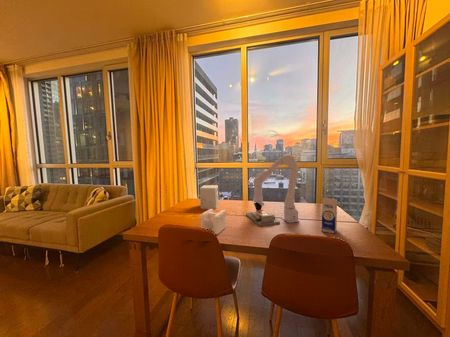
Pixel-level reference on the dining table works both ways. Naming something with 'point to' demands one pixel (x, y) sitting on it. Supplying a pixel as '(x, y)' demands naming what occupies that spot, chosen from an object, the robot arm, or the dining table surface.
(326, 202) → the milk carton
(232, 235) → the dining table surface
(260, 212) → the cutter blade
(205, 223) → the cable organizer
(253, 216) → the cutter base
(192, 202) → the dining table surface
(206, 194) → the supplement box
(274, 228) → the dining table surface
